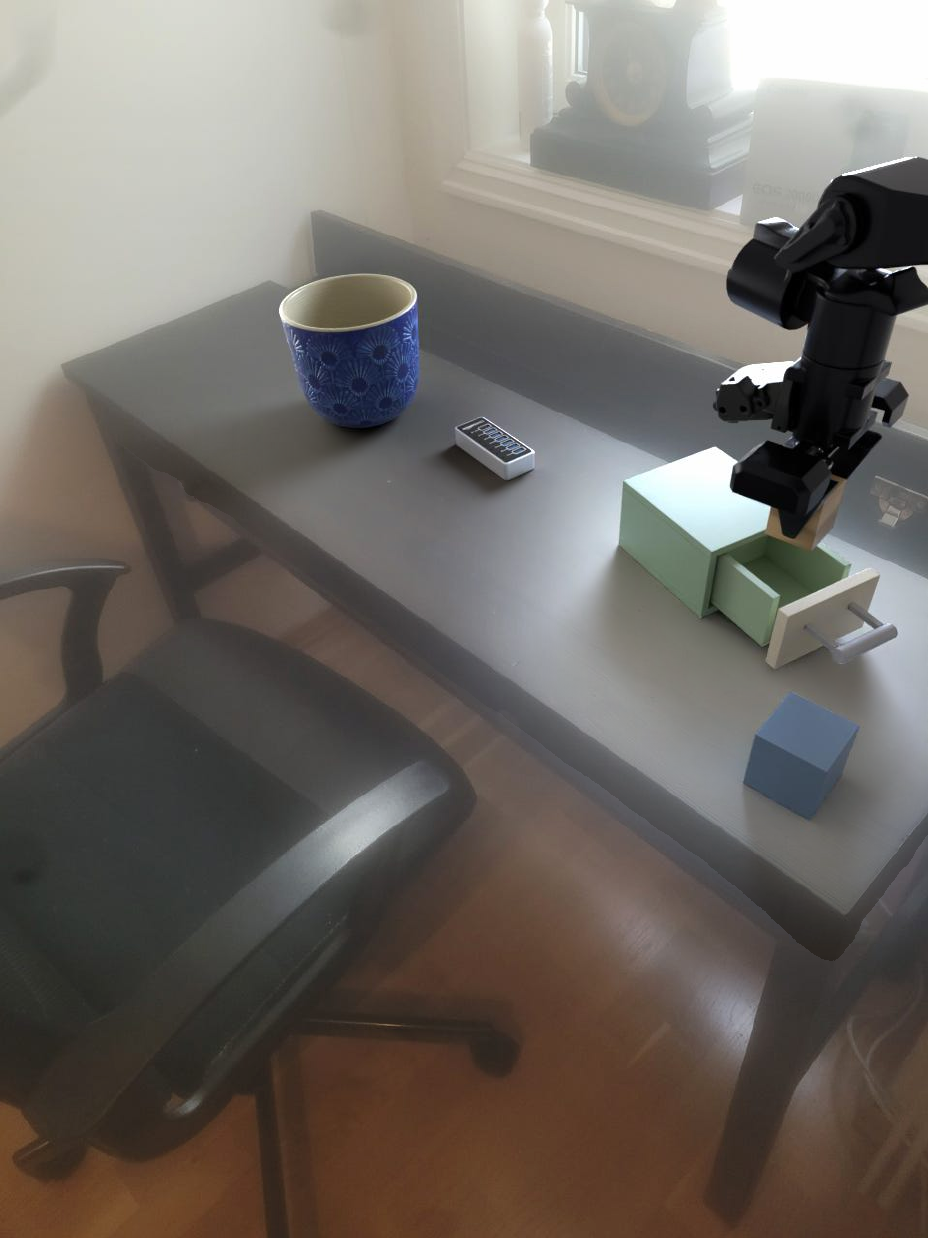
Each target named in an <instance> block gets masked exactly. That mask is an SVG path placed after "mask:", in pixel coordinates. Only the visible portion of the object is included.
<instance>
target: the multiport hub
mask: <svg viewBox="0 0 928 1238" xmlns="http://www.w3.org/2000/svg"><path fill="white" fill-rule="evenodd" d="M454 434H455V445H456V446H457V447H459V448H460V449H461V450H463V451H464V452H466V453H467V454H468V455H470V456H471V457H473V458H474V459H475V460H477V461H478V462H480V464H482V465H483V466H485V467H486V468H488V469H489V470H490V471H492V472H493V473H495V474H496V475H497V476H498V477H500V478H501V479H503V480H504V481H509V480H510V481H511V480H512V479H515V478H516V477H519V476H521V475H524V474H526V473H527V472H530V471H532V470H534V469H535V451H534V449H532V448H530V446H527V445H526V443H525V444H524V443H523V442H521V441H520V440H518V439H517V438H516V437H514V436H512V435H511V434H510V433H509V432H507V431H505V430H504V429H502V428H501V427H499V426H498V425H496V424H495V423H494V422H492V421H490V420H489V419H487V418H485V417H484V416H479V417H476V418H474V419H472V420H469V421H467V422H464V423H462V424H460V425H457V426H455V427H454Z"/></svg>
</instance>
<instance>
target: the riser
mask: <svg viewBox="0 0 928 1238" xmlns="http://www.w3.org/2000/svg"><path fill="white" fill-rule="evenodd" d="M860 728H861V725H860V724H858V723H856V722H854V721H852V720H850V719H848V718H846V717H844V716H842V715H840V714H838V713H836V712H834V711H831V710H830V709H827V708H825V707H824V706H821V705H819V704H818V703H815V702H813V701H811V700H809V699H807V698H805V697H803V696H801V695H799V694H797V693H795V692H792V691H789V692H788V693H786V696H785V697H784V698H783V699H782V701H780V703H778V705H777V706H776V708H775V709H774V710H773V711H772V713H771V714H770V715H769V716H768V718H767V719H766V720H765V721H764V723H763V724H762V725H761V726H760V728H759V729H758V730H757V731H756V733H755V734H754V738H753V740H752V745H751V749H750V753H749V758H748V759H747V760H748V761H747V763H746V764H747V765H746V768H745V772H744V776H743V780H742V783H743V784H745V785H746V786H748V787H750V788H752V789H753V790H755V791H757V792H759V793H761V794H762V795H763V796H766V797H768V798H769V799H771V800H773V801H775V802H776V803H778V804H780V805H782V806H783V807H785V808H787V809H789V810H791V811H792V812H794V813H796V814H798V815H799V816H801V817H803V818H804V819H807V820H808V821H810V820H811V819H812V818H813V816H814V815H815V814H816V812H817V811H818V809H819V808H820V807H821V805H822V804H823V802H824V800H825V799H826V798H827V797H828V795H829V794H830V792H831V790H832V789H833V788H834V786H835V785H836V783H837V782H838V780H839V779H840V778H841V776H842V775H843V772H844V769H845V767H846V765H847V761H848V759H849V756H850V754H851V751H852V748H853V747H854V743H855V741H856V738H857V735H858V733H859V730H860Z"/></svg>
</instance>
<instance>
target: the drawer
mask: <svg viewBox="0 0 928 1238" xmlns="http://www.w3.org/2000/svg"><path fill="white" fill-rule="evenodd" d="M851 568H852V563H851V562H850V561H848V560H847V559H846V558H844V557H843V556H842V555H840V554H839V553H837V552H836V551H834V550H833V549H832V548H830V547H829V546H827V545H825V544H824V543H823V542H822V541H820V543H819V544H818V545H817V546H816V547H815V548H814V549H813V550H812V551H811V552H810V551H808V550H805V549H803V548H800V547H798V546H795V545H793V544H790V543H787V542H785V541H782V540H780V539H777V538H775V537H772V536H770V535H766V536H764V537H761V538H759V539H757V540H754V541H752V542H749V543H747V544H745V545H742V546H740V547H738V548H735V549H733V550H730V551H728V552H726V553H723V554H721V555H718V556H717V559H716V565H715V571H714V577H713V582H712V588H711V594H710V600H709V601H710V602H711V603H712V604H713V605H715V606H716V607H717V608H718V609H719V610H718V611H720V612H721V613H723V615H725V616H726V617H727V618H728V619H729V620H730V621H732V622H733V623H734V624H735V625H736V626H737V627H739V628H740V629H741V630H742V631H743V632H744V633H745V634H747V635H748V636H749V637H750V638H751V639H752V640H754V641H755V642H756V643H757V644H758V645H759V646H760V647H764V646H767V645H768V649H767V654H766V657H765V662H766V663H767V664H768V665H769V666H771V667H772V668H773V669H774V670H777V669H778V668H781V667H783V666H784V665H786V664H789V663H791V662H793V661H794V660H795V661H796V660H797V659H799V658H801V657H803V656H806V655H808V654H809V653H811V652H814V651H816V650H818V649H820V648H822V647H825V648H826V649H827V650H829V651H830V652H831V657H832V660H834V661H835V663H837V664H840V665H843V664H845V663H848V662H850V661H851V660H853V659H855V658H857V657H860V656H861V655H864V654H866V653H868V652H870V651H871V650H873V649H876V648H878V647H880V646H882V645H883V644H886V643H888V642H890V641H892V640H894V639H896V638H897V637H898V634H899V632H898V628H897V627H896V626H895V624H894V623H891V622H887V623H883V622H882V621H881V620H879V619H878V618H877V617H875V616H874V615H872V613H869V609H870V607H871V604H872V600H873V597H874V595H875V591H876V590H877V589H876V588H877V587H878V583H879V580H880V577H881V574H880V573H879V572H877V571H876V570H874V569H873V568H872V567H868V568H865V569H863V570H861V571H859V572H856V573H854V574H852V575H850V576H849V574H850V570H851ZM865 623H866V624H867V625H868V626H870V627H871V628H872V630H870V631H867V632H866V633H863V634H861V635H859V636H857V637H855V638H853V639H851V640H849V641H847V642H844V643H843V644H840V645H839V644H838V643H837V642H836V640H838V639H841V638H843V637H845V636H846V635H849V634H851V633H854V632H855V631H857V630H859V629H861V628H863V627H864V624H865Z"/></svg>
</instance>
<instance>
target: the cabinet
mask: <svg viewBox="0 0 928 1238" xmlns="http://www.w3.org/2000/svg"><path fill="white" fill-rule="evenodd" d="M737 462H738V461H737V460H736V459H734V458H733V457H731V456H730V455H728V453H726V452H724V451H723V450H721V449H720V448H718V447H717V446H713V447H710V448H707V449H704V450H701V451H699V452H696V453H694V454H692V455H688V456H685V457H683V458H680V459H677V460H675V461H672V462H669V463H666V464H664V465H661V466H659V467H655V468H653V469H650V470H647V471H644V472H642V473H640V474H636V475H635V476H632V477H629V478H626V479H624V480H622V493H621V503H620V504H621V505H620V519H619V532H618V545H619V546H620V547H621V548H622V549H623V550H624V551H625V552H626V553H627V554H628V555H630V556H631V557H632V558H633V559H634V560H635V561H636V562H637V563H638V564H640V565H641V566H642V567H643V568H644V569H645V570H646V571H647V572H649V573H650V574H651V575H652V576H653V577H654V578H655V579H656V580H657V581H659V582H660V583H661V584H662V586H664V588H667V590H668V591H669V592H670V593H672V594H673V596H675V597H676V598H677V599H678V600H680V602H682V603H683V604H684V605H685V606H686V607H687V608H688V609H690V610H691V611H692V612H693V613H694V614H695V615H696V616H697V617H698V618H700V619H702V618H704V617H707V616H709V615H711V614H713V613H715V612H718V611H720V610H719V609H718V608H717V607H716V606H715V605H713V604H712V603H711V602H710V601H709V600H710V594H711V588H712V582H713V577H714V571H715V565H716V559H717V556H718V555H721V554H723V553H726V552H728V551H730V550H733V549H735V548H738V547H740V546H742V545H745V544H747V543H749V542H752V541H754V540H757V539H759V538H761V537H764V536H766V535H767V534H765V531H766V527H767V522H768V517H769V513H770V508H771V506H768V505H765V504H763V503H760V502H757V501H755V500H752V499H749V498H747V497H744V496H741V495H739V494H736V493H733V492H732V491H731V489H730V487H729V486H730V480H731V474H732V468H733V465H735V464H736V463H737Z"/></svg>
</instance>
